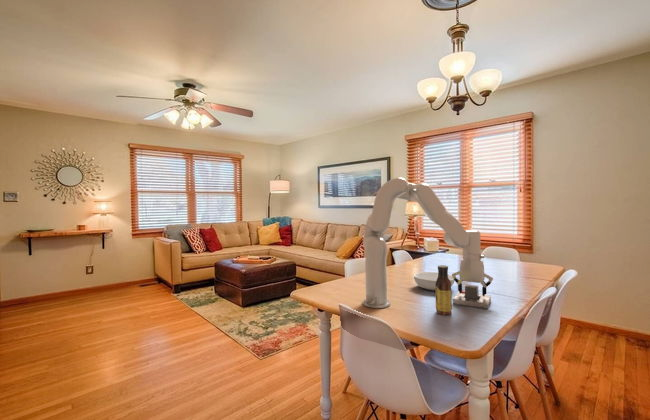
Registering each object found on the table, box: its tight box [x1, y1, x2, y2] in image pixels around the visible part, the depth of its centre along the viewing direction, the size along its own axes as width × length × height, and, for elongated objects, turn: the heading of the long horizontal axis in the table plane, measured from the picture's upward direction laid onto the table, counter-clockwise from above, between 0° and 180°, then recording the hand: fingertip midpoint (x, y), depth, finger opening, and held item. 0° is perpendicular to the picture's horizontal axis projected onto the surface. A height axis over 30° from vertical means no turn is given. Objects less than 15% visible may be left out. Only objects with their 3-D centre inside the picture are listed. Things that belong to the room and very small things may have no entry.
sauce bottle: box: [434, 264, 453, 316], centre depth 128 cm, size 6×6×20 cm
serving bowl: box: [413, 271, 455, 291], centre depth 166 cm, size 21×21×7 cm
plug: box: [464, 284, 480, 300], centre depth 141 cm, size 5×5×7 cm
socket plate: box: [452, 290, 492, 310], centre depth 141 cm, size 14×14×3 cm
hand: (472, 294), depth 141 cm, fingers open, 9 cm apart
